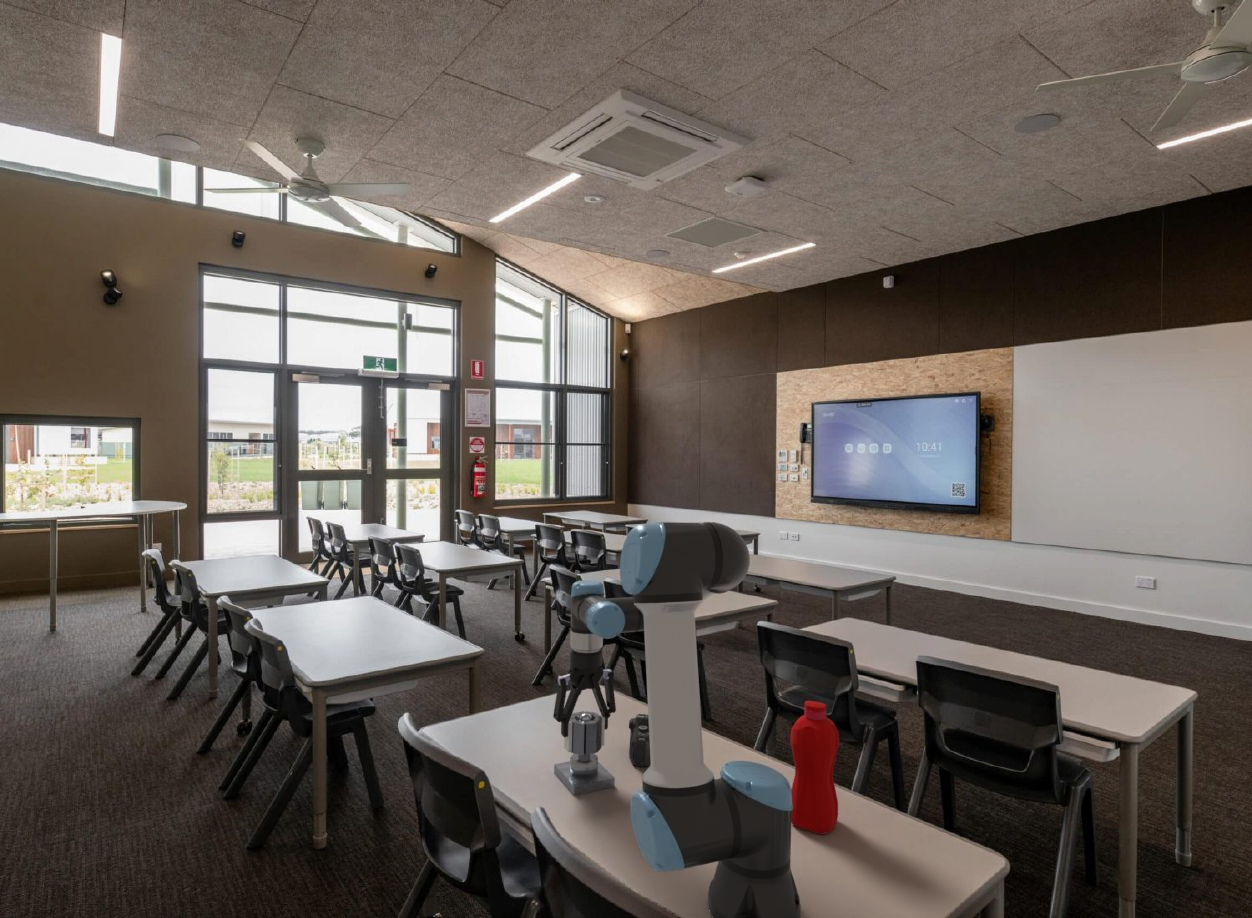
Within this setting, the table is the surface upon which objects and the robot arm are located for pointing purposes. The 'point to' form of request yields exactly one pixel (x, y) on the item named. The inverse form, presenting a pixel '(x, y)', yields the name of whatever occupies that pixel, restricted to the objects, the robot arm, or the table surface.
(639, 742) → the camera
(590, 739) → the hub
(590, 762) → the shaft block
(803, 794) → the water bottle
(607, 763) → the table surface
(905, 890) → the table surface
